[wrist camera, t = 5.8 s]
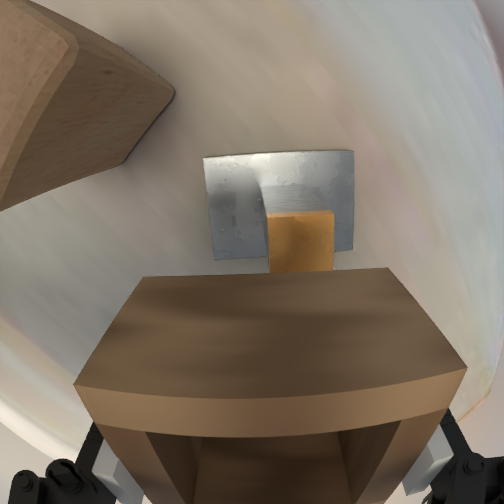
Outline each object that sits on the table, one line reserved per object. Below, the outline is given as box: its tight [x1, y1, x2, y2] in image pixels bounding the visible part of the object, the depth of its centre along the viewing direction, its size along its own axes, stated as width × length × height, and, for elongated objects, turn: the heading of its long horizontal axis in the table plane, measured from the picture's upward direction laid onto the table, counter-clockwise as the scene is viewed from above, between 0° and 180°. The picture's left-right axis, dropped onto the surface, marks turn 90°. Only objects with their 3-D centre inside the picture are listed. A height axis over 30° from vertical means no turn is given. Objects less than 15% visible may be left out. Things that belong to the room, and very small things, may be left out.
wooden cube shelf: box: [73, 268, 468, 504], centre depth 10 cm, size 10×10×6 cm
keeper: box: [203, 150, 354, 273], centre depth 25 cm, size 14×10×13 cm
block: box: [0, 0, 174, 212], centre depth 18 cm, size 10×10×20 cm
